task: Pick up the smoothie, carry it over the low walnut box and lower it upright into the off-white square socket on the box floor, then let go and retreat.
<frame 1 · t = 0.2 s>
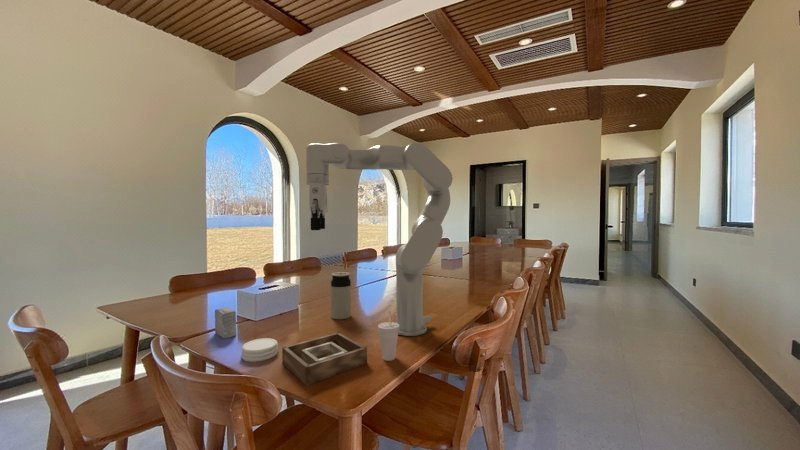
hand: (318, 229, 113), 37 cm above the table, tool pointing down, fingers open, 9 cm apart
smoothie: (388, 358, 95), on the table
travel mug: (341, 317, 134), on the table
walnut box: (324, 363, 92), on the table
coaster: (260, 355, 97), on the table
medicine box: (225, 335, 114), on the table
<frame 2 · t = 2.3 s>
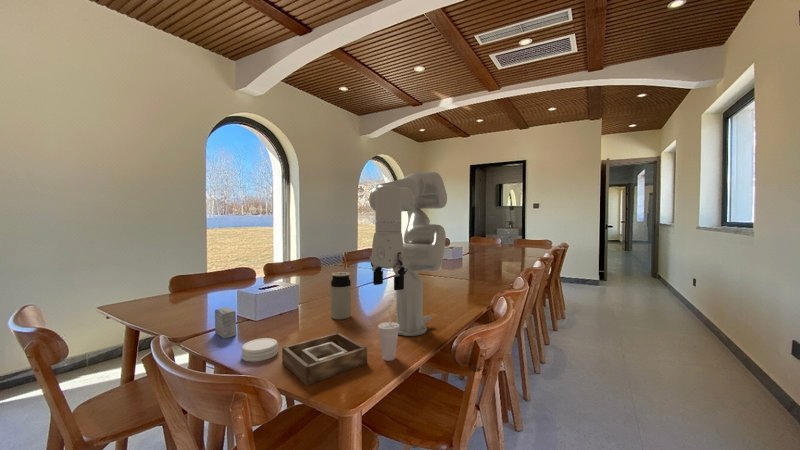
hand: (388, 287, 94), 21 cm above the table, tool pointing down, fingers open, 9 cm apart
nothing on the table moved.
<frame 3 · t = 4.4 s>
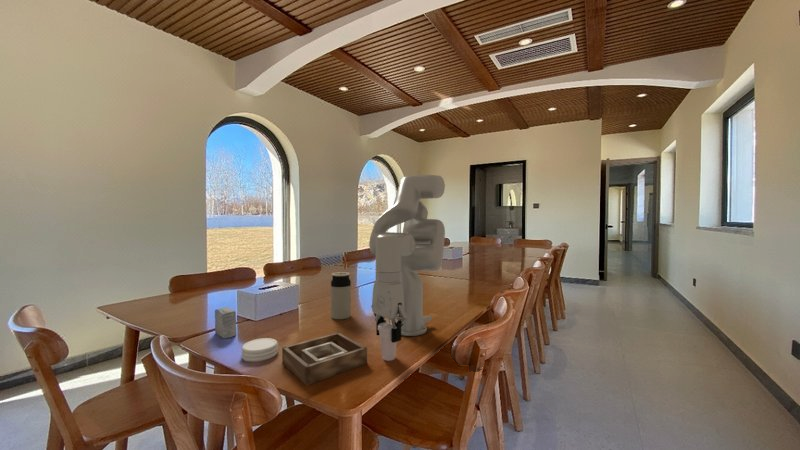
hand: (388, 337, 95), 6 cm above the table, tool pointing down, fingers closed on smoothie, 6 cm apart
smoothie: (388, 358, 95), on the table, touching gripper
everything else where it was.
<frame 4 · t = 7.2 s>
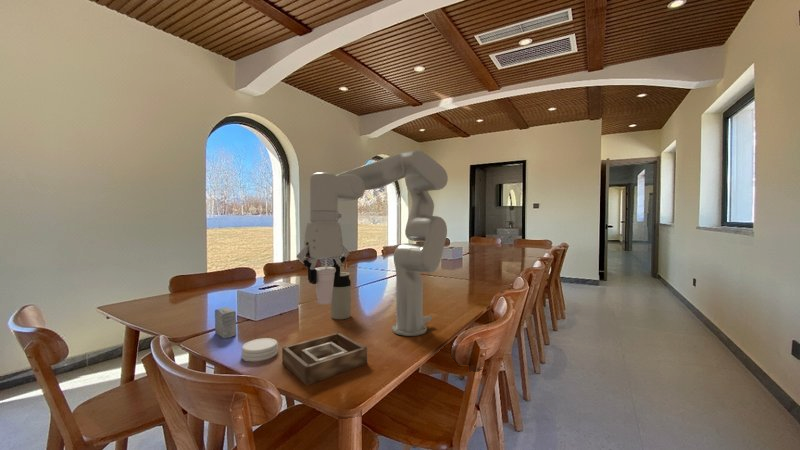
hand: (324, 281, 91), 23 cm above the table, tool pointing down, fingers closed on smoothie, 6 cm apart
smoothie: (324, 303, 91), point 17 cm above the table, touching gripper
everything else where it was.
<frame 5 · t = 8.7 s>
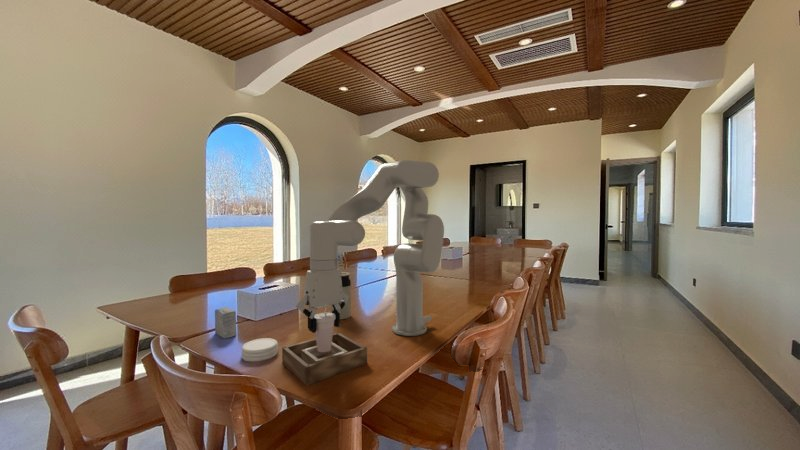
hand: (324, 328, 91), 10 cm above the table, tool pointing down, fingers closed on smoothie, 6 cm apart
smoothie: (324, 350, 91), point 4 cm above the table, touching gripper
everything else where it was.
when the fingers open (9 cm above the table, at t = 9.8 s): smoothie drops 2 cm, resting on walnut box.
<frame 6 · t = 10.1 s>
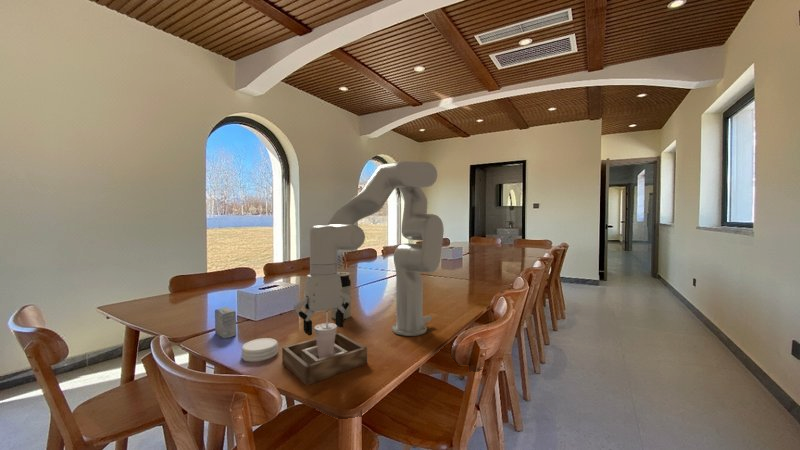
hand: (324, 329, 91), 10 cm above the table, tool pointing down, fingers open, 9 cm apart
smoothie: (325, 360, 92), point 1 cm above the table, touching walnut box
everything else where it was.
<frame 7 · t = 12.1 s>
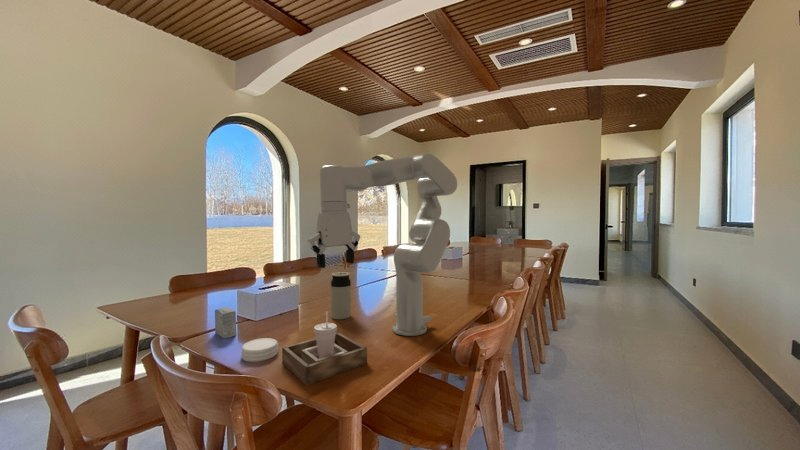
hand: (336, 265, 97), 27 cm above the table, tool pointing down, fingers open, 9 cm apart
nothing on the table moved.
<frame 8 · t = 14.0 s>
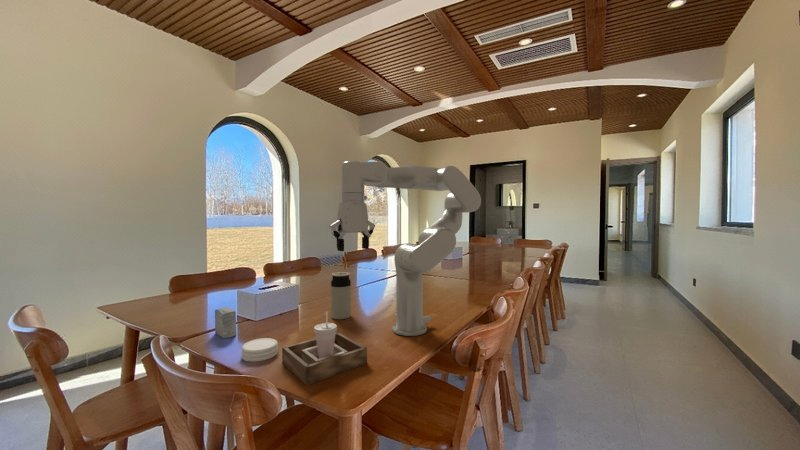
hand: (353, 249, 109), 30 cm above the table, tool pointing down, fingers open, 9 cm apart
nothing on the table moved.
at the end: smoothie 0.4 cm off-centre on the walnut box, point 0.6 cm above the walnut box's base; smoothie tilted 0°; the gripper is holding nothing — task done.
